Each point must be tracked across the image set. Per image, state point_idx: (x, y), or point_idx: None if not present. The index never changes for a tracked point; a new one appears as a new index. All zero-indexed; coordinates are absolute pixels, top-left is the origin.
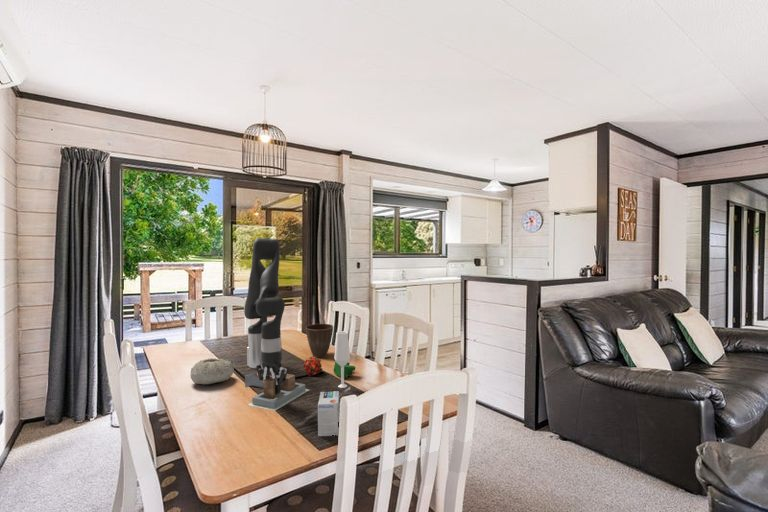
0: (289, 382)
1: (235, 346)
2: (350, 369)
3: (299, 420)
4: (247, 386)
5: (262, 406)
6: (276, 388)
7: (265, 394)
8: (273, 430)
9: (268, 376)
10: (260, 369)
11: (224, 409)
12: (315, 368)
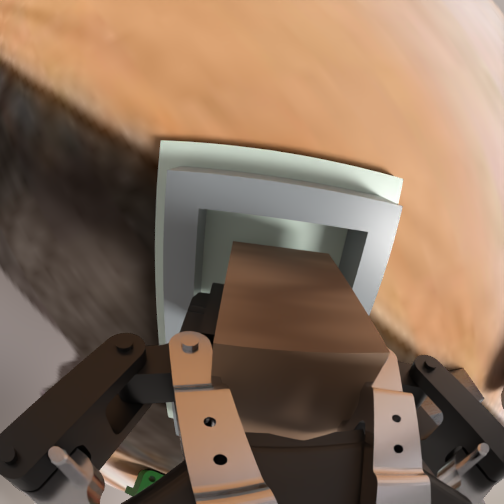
0: None
1: None
2: (130, 488)
3: (23, 132)
4: (457, 371)
5: (292, 177)
6: (205, 314)
7: (316, 262)
8: (84, 3)
9: (348, 422)
10: (472, 452)
11: (478, 138)
12: None
